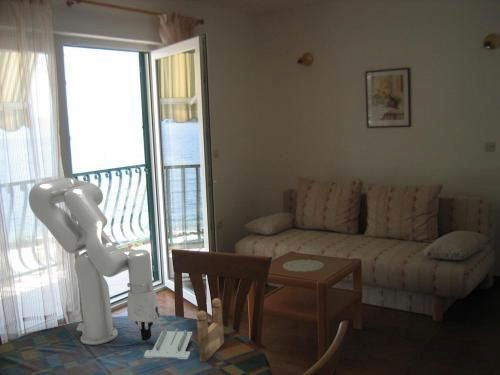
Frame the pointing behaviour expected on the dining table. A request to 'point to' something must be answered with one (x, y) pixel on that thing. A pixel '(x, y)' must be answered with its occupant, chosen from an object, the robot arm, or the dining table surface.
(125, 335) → the dining table surface
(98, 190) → the robot arm
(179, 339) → the metal bracket
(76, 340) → the dining table surface
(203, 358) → the headboard
